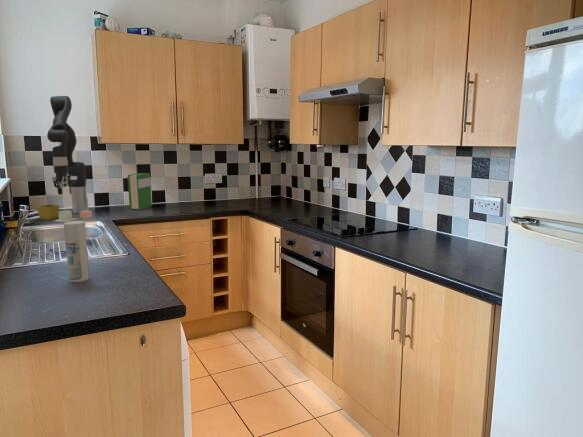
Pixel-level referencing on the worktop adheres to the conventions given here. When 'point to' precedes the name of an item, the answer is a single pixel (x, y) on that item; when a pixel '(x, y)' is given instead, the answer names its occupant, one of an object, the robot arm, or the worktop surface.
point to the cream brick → (64, 191)
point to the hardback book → (139, 191)
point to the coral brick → (85, 214)
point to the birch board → (66, 220)
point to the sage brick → (65, 215)
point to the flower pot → (48, 212)
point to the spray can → (76, 251)
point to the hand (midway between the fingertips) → (63, 193)
